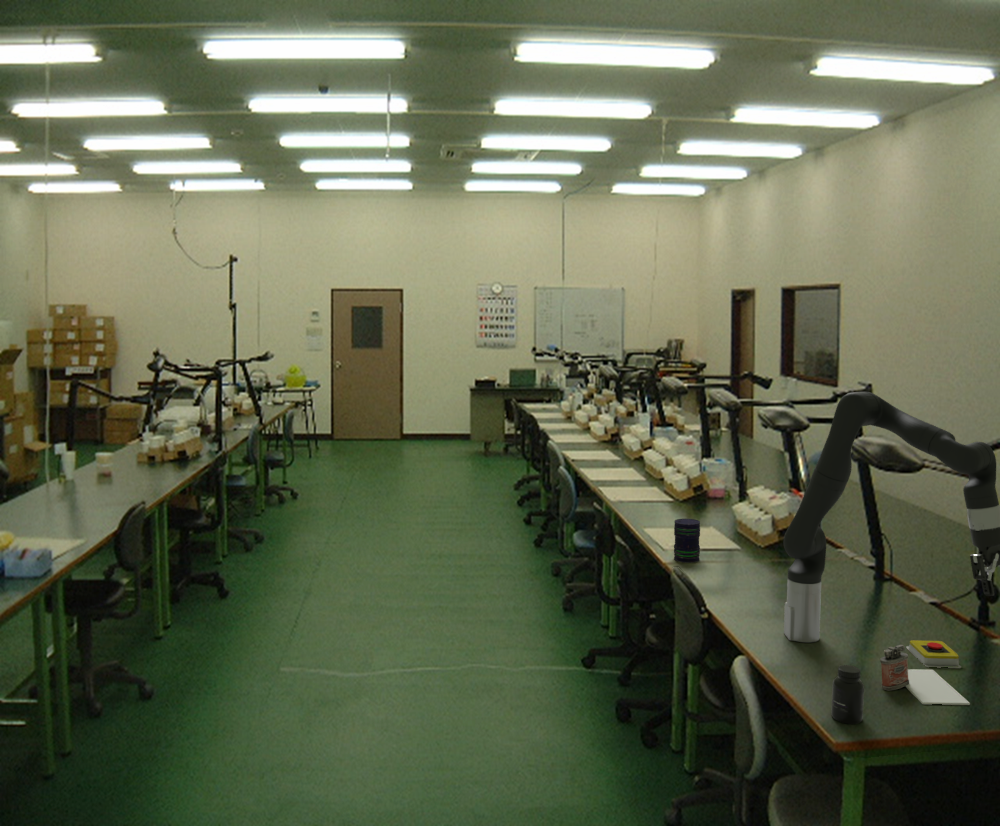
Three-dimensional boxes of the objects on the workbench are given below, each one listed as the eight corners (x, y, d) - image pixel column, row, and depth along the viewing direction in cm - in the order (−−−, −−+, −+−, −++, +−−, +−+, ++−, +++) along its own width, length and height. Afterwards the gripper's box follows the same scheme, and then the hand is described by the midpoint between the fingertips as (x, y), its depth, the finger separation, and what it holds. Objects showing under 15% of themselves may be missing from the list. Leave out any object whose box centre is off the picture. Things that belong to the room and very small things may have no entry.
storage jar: (699, 556, 340) (700, 519, 338) (699, 563, 330) (700, 524, 329) (674, 555, 342) (674, 518, 340) (673, 562, 332) (673, 523, 331)
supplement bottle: (831, 722, 199) (832, 672, 198) (831, 709, 206) (832, 661, 204) (863, 727, 197) (865, 676, 196) (862, 714, 203) (864, 664, 202)
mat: (922, 704, 208) (922, 702, 208) (889, 670, 228) (889, 669, 228) (969, 705, 208) (969, 703, 208) (932, 671, 227) (932, 669, 227)
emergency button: (926, 653, 230) (905, 633, 245) (926, 669, 230) (904, 648, 245) (963, 654, 229) (939, 633, 244) (962, 670, 229) (938, 648, 244)
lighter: (889, 691, 215) (887, 652, 214) (878, 687, 218) (876, 648, 217) (912, 683, 218) (911, 645, 217) (901, 679, 221) (899, 641, 220)
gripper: (988, 518, 217) (1001, 582, 216) (954, 531, 210) (967, 597, 210) (1018, 518, 210) (1032, 584, 210) (983, 531, 203) (997, 599, 203)
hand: (999, 590), depth 210 cm, fingers open, 8 cm apart
